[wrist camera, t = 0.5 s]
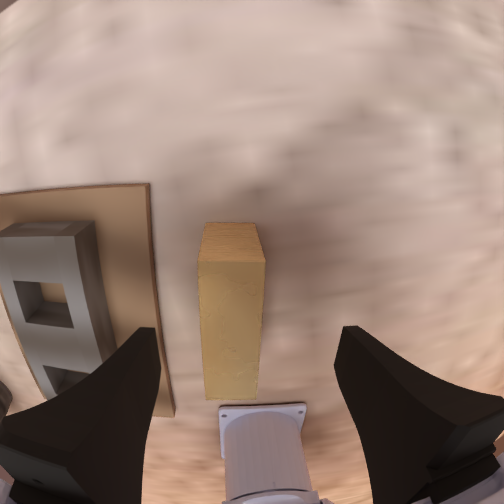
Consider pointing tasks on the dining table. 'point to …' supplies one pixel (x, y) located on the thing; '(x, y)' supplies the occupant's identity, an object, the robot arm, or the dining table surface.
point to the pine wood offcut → (231, 309)
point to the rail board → (79, 280)
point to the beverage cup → (4, 400)
